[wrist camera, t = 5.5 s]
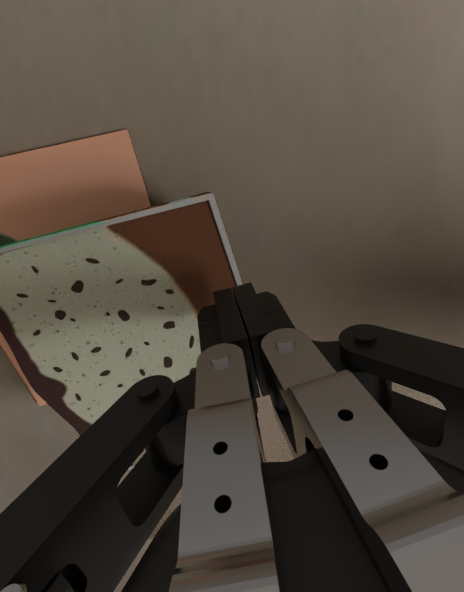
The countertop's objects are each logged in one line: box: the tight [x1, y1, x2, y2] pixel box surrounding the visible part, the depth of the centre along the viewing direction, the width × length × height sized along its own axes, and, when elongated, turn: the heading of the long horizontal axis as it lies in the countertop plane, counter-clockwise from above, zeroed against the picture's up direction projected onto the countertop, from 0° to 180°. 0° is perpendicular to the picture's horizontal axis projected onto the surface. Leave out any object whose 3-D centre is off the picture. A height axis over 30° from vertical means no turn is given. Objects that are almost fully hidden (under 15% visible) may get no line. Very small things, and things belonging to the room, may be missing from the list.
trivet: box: [0, 129, 151, 406], centre depth 18 cm, size 10×14×1 cm
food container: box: [0, 192, 258, 470], centre depth 17 cm, size 12×6×10 cm
